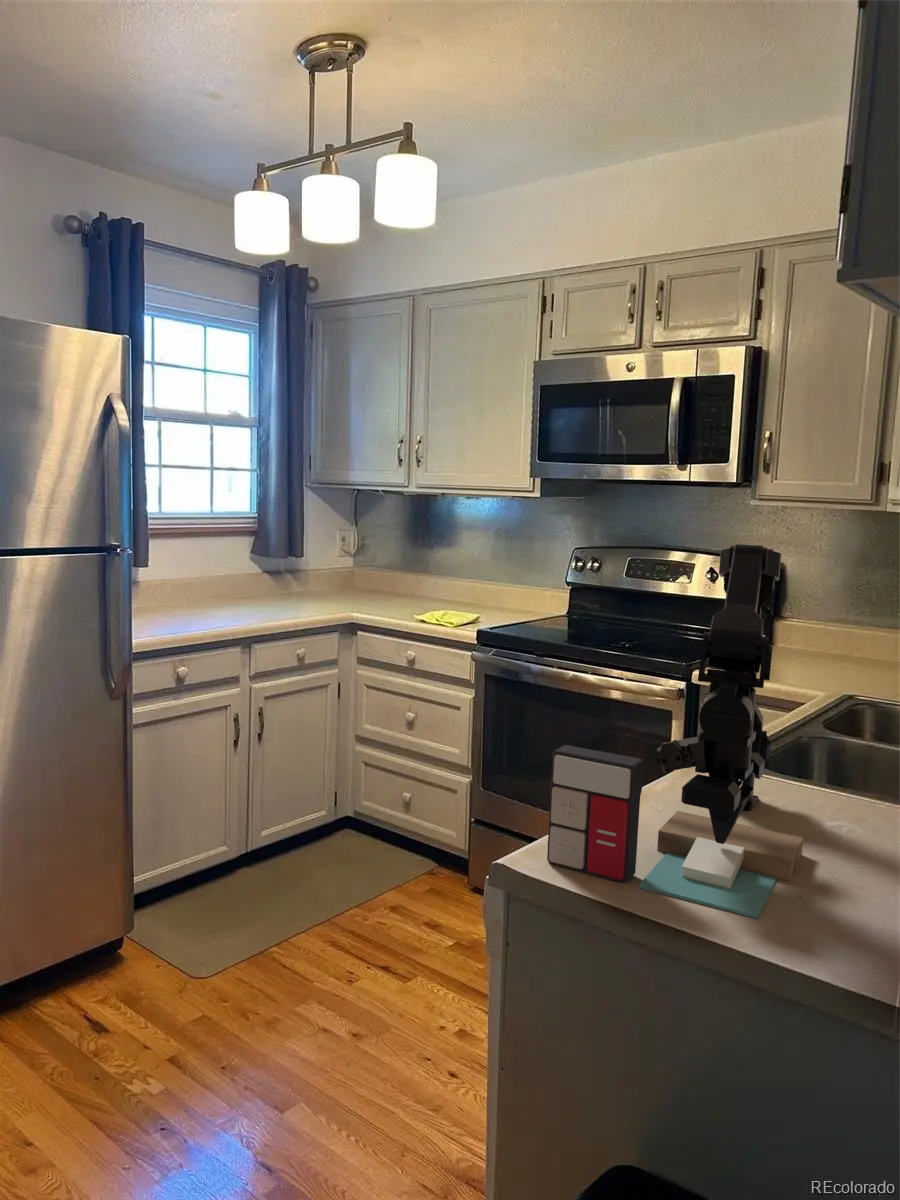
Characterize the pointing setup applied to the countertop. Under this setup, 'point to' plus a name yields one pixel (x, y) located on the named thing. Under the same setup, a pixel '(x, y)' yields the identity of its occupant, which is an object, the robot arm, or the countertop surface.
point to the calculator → (594, 812)
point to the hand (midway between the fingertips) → (720, 842)
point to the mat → (710, 887)
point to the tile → (713, 862)
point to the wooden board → (760, 846)
